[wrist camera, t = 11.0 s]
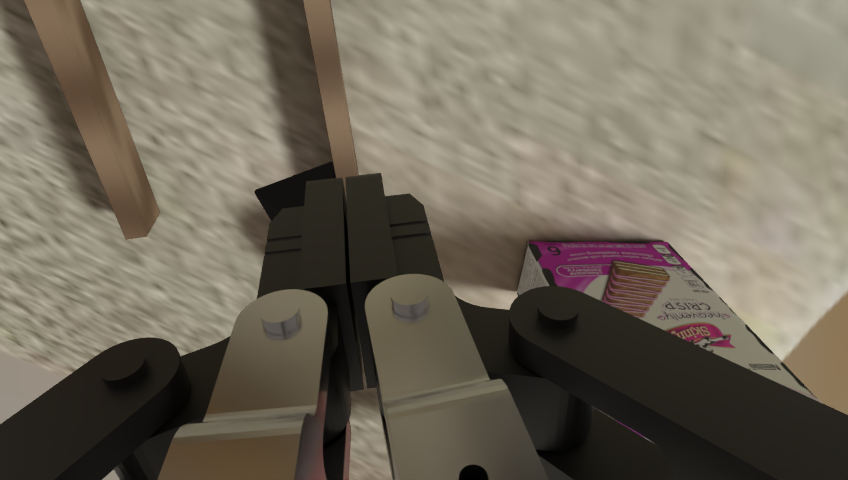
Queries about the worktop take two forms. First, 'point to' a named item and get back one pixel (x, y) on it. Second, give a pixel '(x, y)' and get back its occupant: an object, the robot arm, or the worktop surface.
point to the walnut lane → (105, 124)
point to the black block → (291, 189)
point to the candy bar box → (654, 296)
